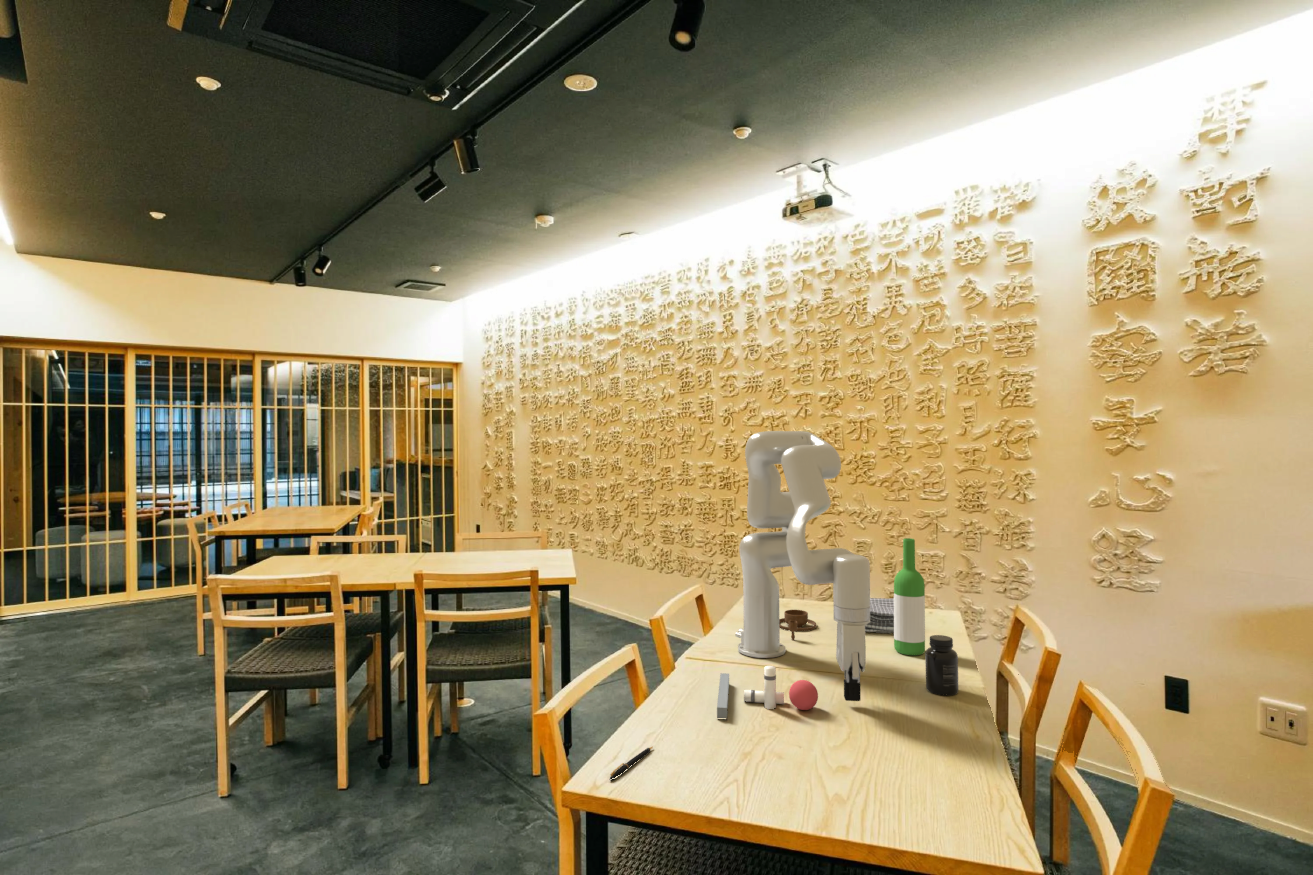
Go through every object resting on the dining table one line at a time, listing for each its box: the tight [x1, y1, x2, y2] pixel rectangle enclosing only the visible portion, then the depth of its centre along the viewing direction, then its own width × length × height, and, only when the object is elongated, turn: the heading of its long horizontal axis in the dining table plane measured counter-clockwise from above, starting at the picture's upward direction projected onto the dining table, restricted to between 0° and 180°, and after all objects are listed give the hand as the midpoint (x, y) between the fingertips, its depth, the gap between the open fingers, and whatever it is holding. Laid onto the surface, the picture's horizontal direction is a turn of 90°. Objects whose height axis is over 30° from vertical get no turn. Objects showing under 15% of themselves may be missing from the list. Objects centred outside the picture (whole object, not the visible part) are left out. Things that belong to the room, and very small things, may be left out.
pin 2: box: [763, 665, 777, 710], centre depth 146 cm, size 2×2×8 cm
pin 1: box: [743, 689, 785, 705], centre depth 148 cm, size 2×2×8 cm
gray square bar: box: [716, 672, 730, 719], centre depth 149 cm, size 20×2×2 cm, turn 173°
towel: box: [865, 597, 894, 635], centre depth 206 cm, size 15×18×8 cm
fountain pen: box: [609, 745, 654, 780], centre depth 121 cm, size 14×1×2 cm, turn 149°
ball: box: [788, 679, 819, 711], centre depth 145 cm, size 6×6×6 cm
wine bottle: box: [893, 537, 926, 656], centre depth 182 cm, size 8×8×30 cm
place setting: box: [779, 609, 817, 641], centre depth 204 cm, size 18×20×6 cm
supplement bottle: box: [924, 634, 959, 697], centre depth 154 cm, size 7×7×12 cm
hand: (852, 699), depth 146 cm, fingers closed
